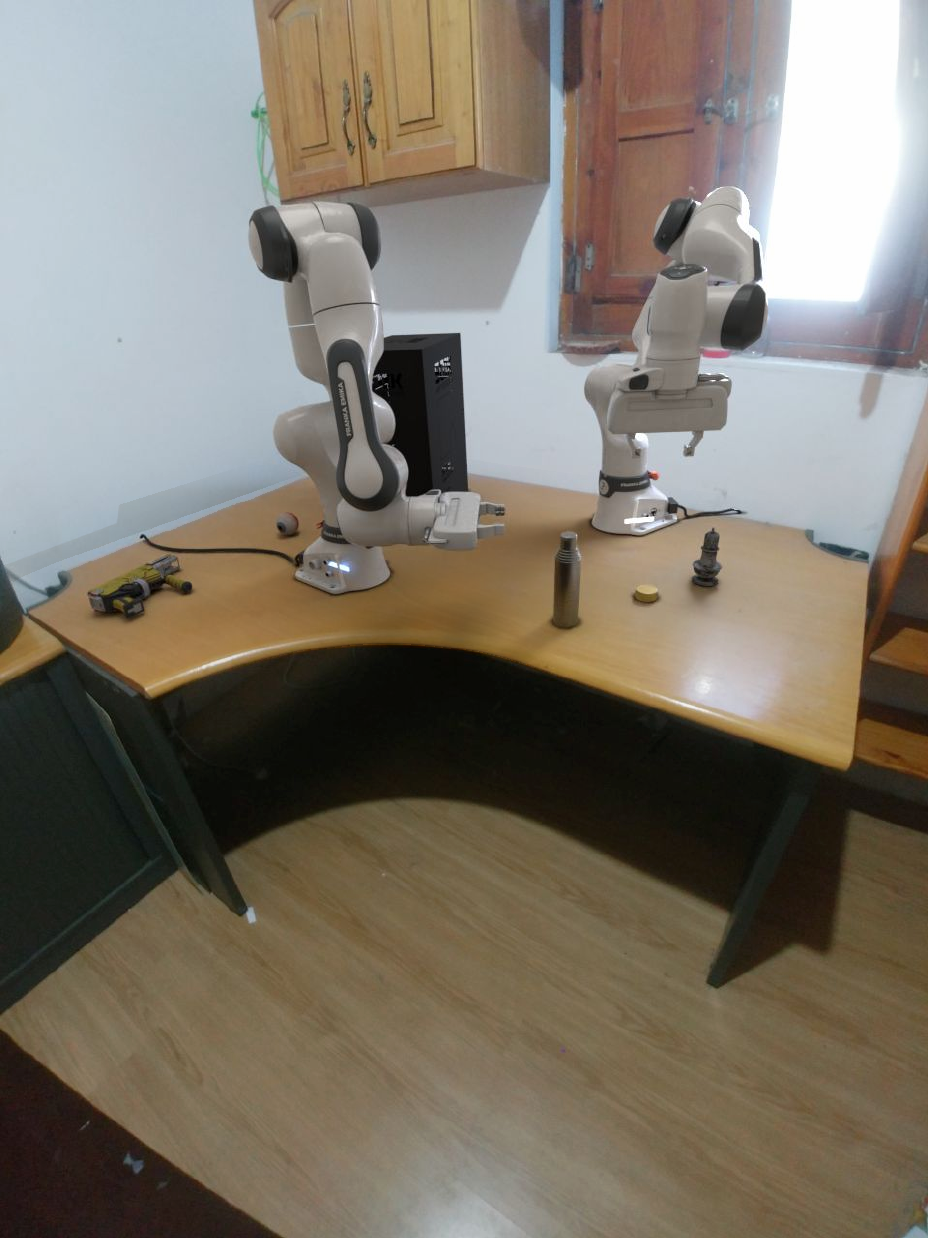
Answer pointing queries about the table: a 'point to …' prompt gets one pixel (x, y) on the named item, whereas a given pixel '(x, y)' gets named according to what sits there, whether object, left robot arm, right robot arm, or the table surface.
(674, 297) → the right robot arm
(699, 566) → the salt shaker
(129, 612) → the toy gun
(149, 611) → the table surface
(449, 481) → the black box
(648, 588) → the cap
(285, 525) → the eyeball
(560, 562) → the bottle
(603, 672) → the table surface
